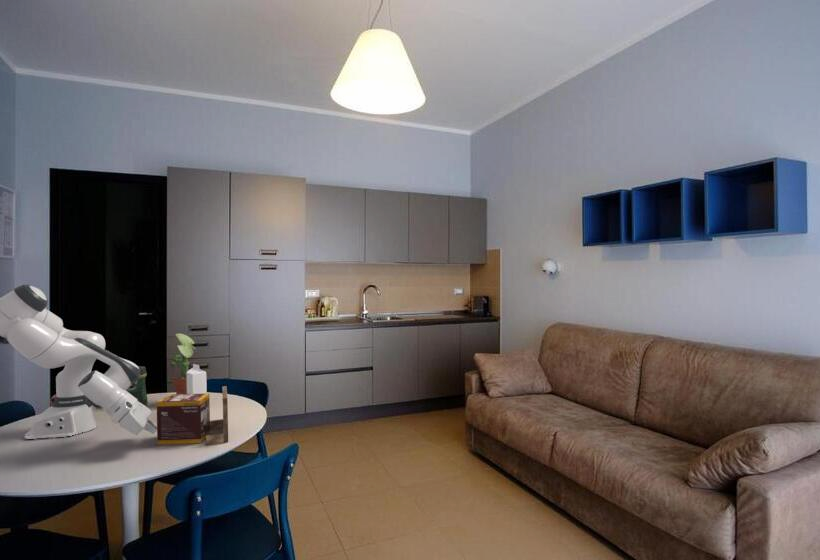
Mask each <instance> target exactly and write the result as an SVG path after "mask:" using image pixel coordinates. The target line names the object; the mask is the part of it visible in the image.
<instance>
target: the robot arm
mask: <svg viewBox="0 0 820 560" xmlns="http://www.w3.org/2000/svg"><path fill="white" fill-rule="evenodd" d="M48 302H49V301H48V298H47V297H46V295H45V293H44V292H43V291H42V290H41V289H40V288H38V287H36V286H33V285H31V284H22V285H19V286H17V287H15V288H14V289H13V290H11V291H9V292H7V293H6V294H4V295H3V296H1V297H0V344H2V345H9V344H10V345H11V346H12V348H14V349H15V350H16V351H17V352H18V353H20V354H21V355H22V356H23V357H24V358H26V359H27V360H29V361H30V362H32V363H33V364H36V366H39V367H41V368H44V369H56V368H61V367H64V368H63V370H62V371H61V370H60V372H58V373H57V375H56V376H55V389H56V390H55V392H56V394H54V395H53V396H52V397H51V398H50V400H49V404H50V406H49V407H47V409H46V410H44V411H43V412H41V413H40V414H39V415H38V416H37V417H35V418H34V421H33V423H32V426H31V429H30V430H29V431H27V432H26V433H25V434H24V438H42V437H64V436H71V437H73V436H72V435H74V436H76V435H79V434H82V432H83V433H87V432H89V431H91V430H93V429H94V430H95V428H96V427H97V423H96V420H95V417H94V411H93V407H94V408H95V409H96V410H99V409H103V410H104V412H105V413H107V414H108V416H110V421H111V422H112V423H114V424H118V425H119V426H120V427H122V428H123V429H125V430H127V431H128V432H129V433H131V434H133V435H138V434H140V433H141V431H142V430H144V431H146V432H147V431H148V433H150V434H155V433H157V425H155V424H154V422H153V421H152V420H151V419H150V418H151V415H152V413H153V411H152V410H151V409H150V408H149V407H147V405H146V406H144V405H143V404H142V403H140V402H138V401H137V400H138V399H136V398H135V397H134V396H132V395H131V394H130V393H128V392H127V391H126V390H127V389H128V388H129V387H130V386H131V385H133V384H134V383H135V382H136V381H138V380H139V378H140V369H139V367H138V366H139V365H137V364H136V363H134V362H132V361H131V360H128V359H125V358H122V357H120V356H118V355H116V354H114V353H112V352H111V351H109V350H107V349H106V340H105V338H104V336H103V335H102V334H100V333H97V332H93V331H90V330H89V331H88V330H71V329H67V328H66V327H64V322H63V319H62V318H61V317H59V316H58V315H56V314H55V313H53V312H51V311H50V310H49V309H47V306H48ZM96 360H99V361H101V362H103V363H105V364H107V365H108V366H110V367H109V368H108V369H107V371H105V373H102V372H99V371H98V370H93V371H92V369H93V366H94V363H95V362H96ZM78 433H79V434H78ZM75 434H76V435H75ZM64 438H65V437H64Z"/></svg>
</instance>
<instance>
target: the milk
mask: <svg viewBox="0 0 820 560" xmlns="http://www.w3.org/2000/svg"><path fill="white" fill-rule="evenodd" d="M186 376H187V394H204V393H208V392H207V390H208V389H207V371H205V370H202V369H201V368H200V365H199V364H196V363H193V365H192V367H191V368H190V369H188V371H187V372H186Z"/></svg>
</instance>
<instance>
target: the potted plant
mask: <svg viewBox="0 0 820 560" xmlns="http://www.w3.org/2000/svg"><path fill="white" fill-rule="evenodd" d="M175 336H176V338H178V339H177V340H179V342H180V343H181V345H179V344H177V348H178V350H179V352H180V354H175V355H174V356H173V359H172V360H173V361H171V362H170V366H171V368H174V367H175V365H176V366H177V367H178V368H179V370H180V371H181V374H177V375H173V376H172V385H174V387H175V393H176V394H187V376H186V372H187V371H189V365H190V363H191V361H188V358H191V357H192V356H193V355H195V353H194V350H196V347H195V346H194V344H195V341H194V340H193V338H192V337H190V336H188V335H186V334H183V333H181V332H180V333H175Z"/></svg>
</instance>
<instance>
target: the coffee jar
mask: <svg viewBox="0 0 820 560" xmlns="http://www.w3.org/2000/svg"><path fill="white" fill-rule="evenodd" d="M137 366H138V367H139V369H140V378H139V380H138V381H136V382H135V383H134V384H133V385H131V386H130V387H129V388H128V389H127V390H126V391H127V392H128V393H130V394H131V395H132V396H134V397H135V398H136V399H138V400H137V401H138V402H140V403H142V404H143V405H144V406H146V407H147V405H148V396H147V395H148V394H147V388H146V377H147V376H148V375H147V368H146V366H139V365H137Z"/></svg>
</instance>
